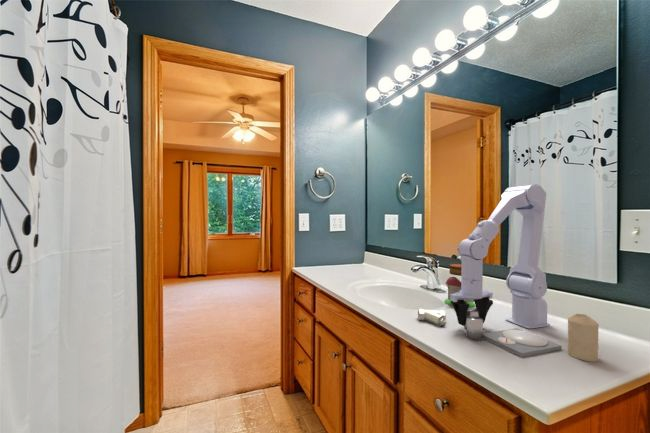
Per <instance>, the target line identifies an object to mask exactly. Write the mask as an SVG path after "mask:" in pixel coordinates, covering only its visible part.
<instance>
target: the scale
mask: <svg viewBox="0 0 650 433" xmlns="http://www.w3.org/2000/svg"><path fill="white" fill-rule="evenodd" d="M483 340H486V341H487V342H490V343H491V344H494V346H495V345H496V346H497V347H499V348H502V349H503V350H505V351H508V352H510V353H512V354H514V355H516V356H518V357H519V358H525V357H530V356H535V355H536V356H537V355H541V354H545V353H546V354H547V353H551V352H552V353H553V352H556V351H562V349H563V348H562V345H561V344H559V343H557V342H553V341H551V340H548V339H547V338H545V337H543V336H541V335H539V334H537V333H533V332H529V331H525V330H523V329H520V328H518V327H515V328H509V329H502V330H495V331H489V332H483Z"/></svg>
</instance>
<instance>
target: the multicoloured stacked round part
mask: <svg viewBox="0 0 650 433" xmlns="http://www.w3.org/2000/svg"><path fill="white" fill-rule="evenodd" d="M461 273H462V263H461V264H460V263H451V264H449V274H450V275H453V276H450V277H447V279H446V281H445V286H446V287H447V298H445V299H444V304H447V305H448V306H451V307H453V306H452V304H451V302H450V294H454V293H457V292H460V290H461V280H460V279H459V278H457V277H456V276H460V277H461ZM464 302H465V303H466V304H469V305H470V306H469V308H474V307H476V306H475V302H474V300H464Z"/></svg>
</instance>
